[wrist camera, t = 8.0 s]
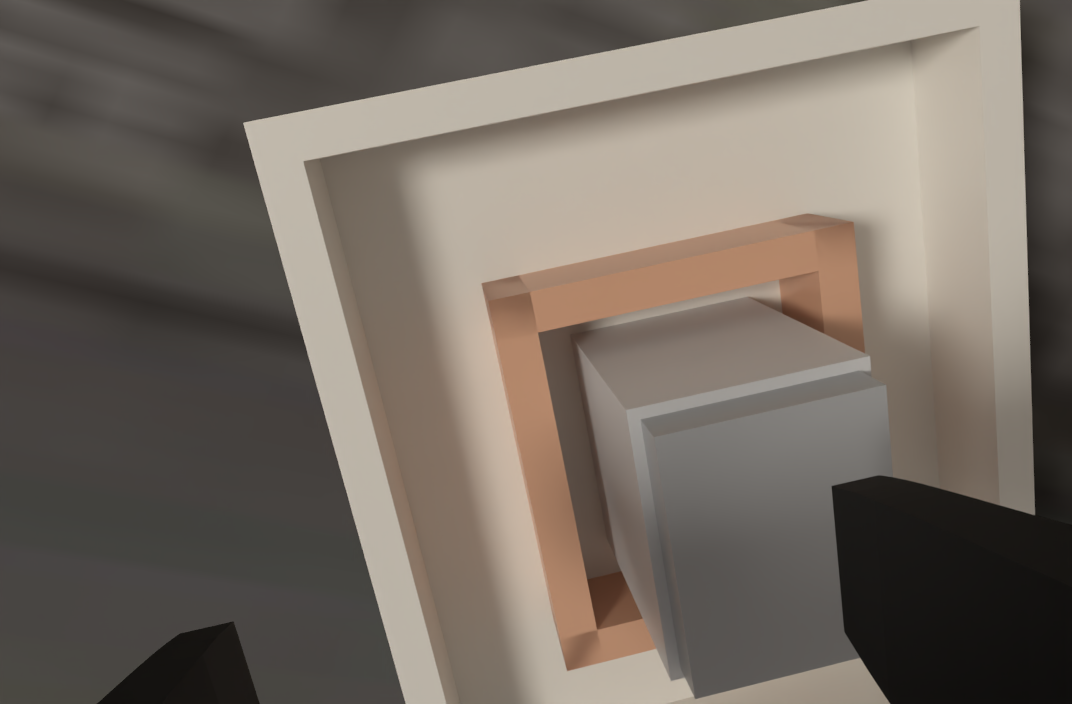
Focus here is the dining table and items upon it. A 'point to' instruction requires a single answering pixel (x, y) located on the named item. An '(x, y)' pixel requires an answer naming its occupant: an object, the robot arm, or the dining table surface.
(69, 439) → the dining table surface
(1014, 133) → the walled box
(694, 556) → the grey plug
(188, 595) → the dining table surface
